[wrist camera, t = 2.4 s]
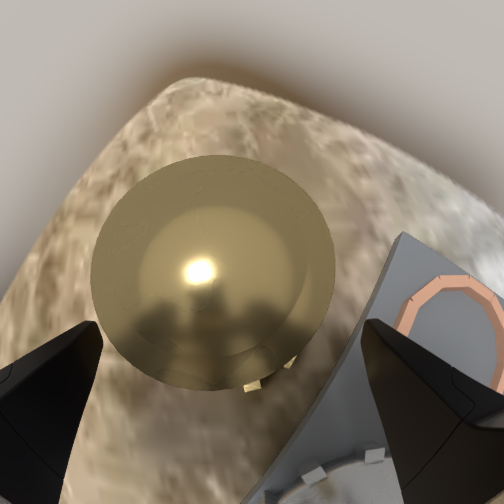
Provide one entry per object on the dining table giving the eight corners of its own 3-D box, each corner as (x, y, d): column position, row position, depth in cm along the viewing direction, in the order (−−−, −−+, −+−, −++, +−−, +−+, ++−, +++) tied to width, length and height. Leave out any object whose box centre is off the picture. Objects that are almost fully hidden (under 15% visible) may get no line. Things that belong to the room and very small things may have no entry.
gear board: (359, 594, 9) (368, 609, 7) (198, 548, 12) (191, 565, 10) (516, 322, 17) (535, 315, 15) (394, 239, 20) (409, 224, 18)
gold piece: (259, 410, 16) (260, 499, 4) (164, 348, 18) (14, 296, 5) (318, 314, 18) (418, 206, 6) (224, 260, 20) (180, 97, 8)
